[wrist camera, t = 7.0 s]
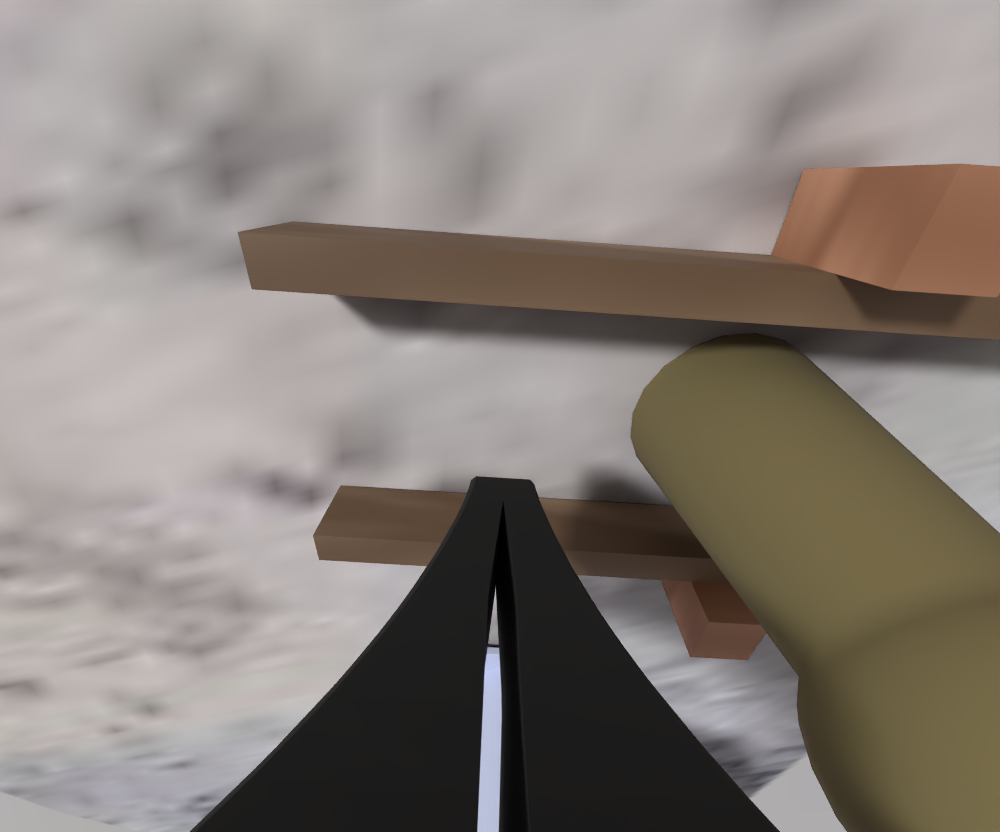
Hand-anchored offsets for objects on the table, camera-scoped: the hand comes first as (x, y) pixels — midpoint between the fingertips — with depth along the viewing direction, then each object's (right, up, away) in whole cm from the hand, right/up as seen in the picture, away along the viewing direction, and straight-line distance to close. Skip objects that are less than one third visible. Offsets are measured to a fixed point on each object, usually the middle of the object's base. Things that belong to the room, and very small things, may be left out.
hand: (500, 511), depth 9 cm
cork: (+7, +2, +4) cm, 9 cm away
